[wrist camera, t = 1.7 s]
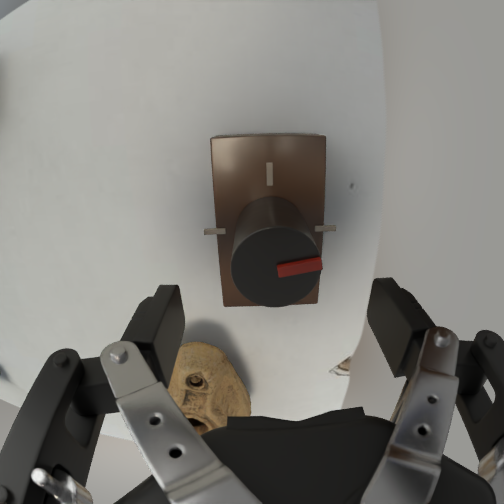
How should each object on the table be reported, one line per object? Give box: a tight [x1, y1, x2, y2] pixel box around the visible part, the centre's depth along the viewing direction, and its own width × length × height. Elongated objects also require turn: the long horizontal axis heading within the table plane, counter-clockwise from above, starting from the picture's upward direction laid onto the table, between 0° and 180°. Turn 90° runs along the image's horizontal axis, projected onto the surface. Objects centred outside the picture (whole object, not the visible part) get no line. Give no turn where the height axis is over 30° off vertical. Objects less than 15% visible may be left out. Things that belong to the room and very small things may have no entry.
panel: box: [204, 133, 336, 307], centre depth 20 cm, size 12×9×3 cm
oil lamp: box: [167, 342, 251, 435], centre depth 25 cm, size 11×15×8 cm
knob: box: [230, 197, 323, 307], centre depth 16 cm, size 4×4×6 cm
